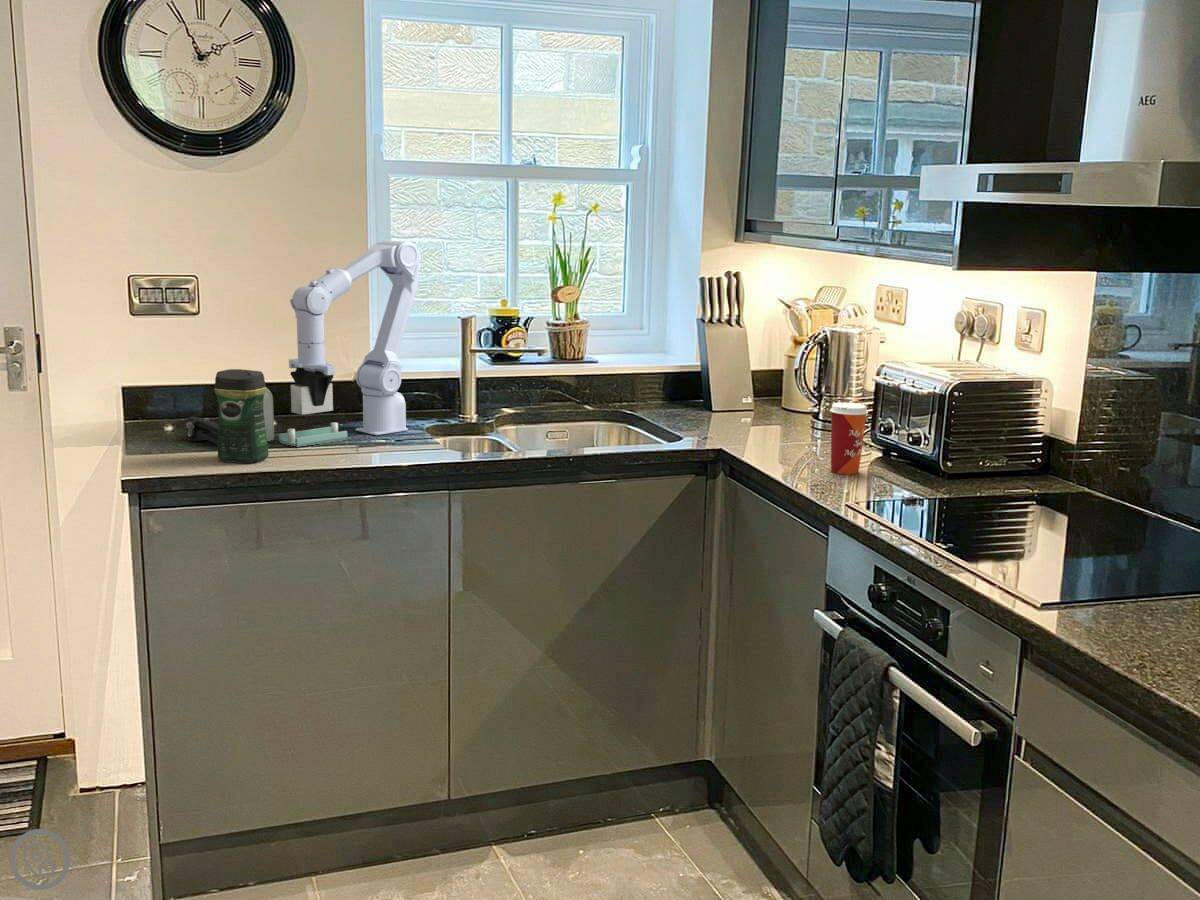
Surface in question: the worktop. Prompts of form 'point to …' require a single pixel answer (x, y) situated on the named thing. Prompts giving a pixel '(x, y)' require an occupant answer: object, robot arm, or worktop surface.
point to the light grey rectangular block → (309, 399)
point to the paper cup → (847, 437)
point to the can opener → (202, 429)
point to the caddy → (313, 436)
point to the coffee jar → (241, 416)
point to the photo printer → (268, 414)
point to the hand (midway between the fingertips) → (312, 404)
